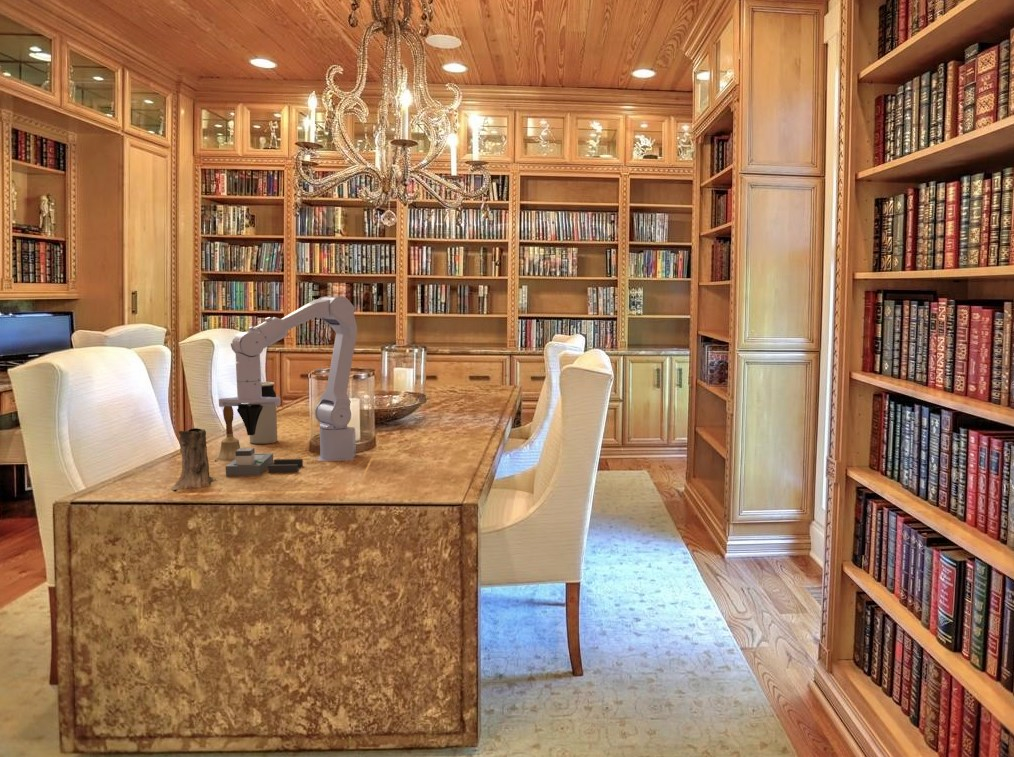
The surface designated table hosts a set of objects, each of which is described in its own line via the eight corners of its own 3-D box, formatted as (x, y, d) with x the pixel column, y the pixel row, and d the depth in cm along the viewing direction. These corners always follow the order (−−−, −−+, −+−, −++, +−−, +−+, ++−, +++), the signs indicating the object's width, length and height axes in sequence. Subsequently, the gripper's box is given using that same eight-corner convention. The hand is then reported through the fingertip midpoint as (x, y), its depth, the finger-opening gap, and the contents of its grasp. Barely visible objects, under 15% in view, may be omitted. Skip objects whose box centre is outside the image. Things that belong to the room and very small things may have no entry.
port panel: (273, 464, 190) (273, 451, 190) (259, 477, 177) (259, 464, 176) (242, 464, 190) (241, 452, 189) (226, 478, 176) (225, 464, 176)
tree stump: (170, 493, 162) (168, 434, 161) (172, 483, 171) (170, 427, 170) (218, 489, 166) (216, 432, 165) (217, 480, 175) (215, 425, 174)
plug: (255, 473, 181) (254, 447, 180) (251, 476, 178) (250, 450, 177) (240, 473, 181) (239, 448, 180) (236, 477, 177) (235, 451, 176)
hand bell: (236, 463, 191) (233, 404, 190) (208, 461, 193) (205, 403, 191) (253, 456, 200) (250, 399, 198) (226, 455, 201) (223, 398, 199)
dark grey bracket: (302, 467, 187) (302, 458, 186) (297, 474, 180) (296, 465, 179) (275, 468, 186) (274, 459, 186) (268, 475, 179) (268, 465, 179)
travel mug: (283, 441, 221) (281, 382, 218) (261, 445, 214) (259, 385, 212) (265, 438, 225) (263, 380, 223) (244, 442, 218) (241, 383, 216)
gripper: (213, 383, 174) (216, 438, 176) (275, 382, 175) (277, 437, 177) (222, 379, 181) (225, 432, 183) (281, 378, 182) (283, 431, 184)
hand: (251, 434), depth 180 cm, fingers closed
